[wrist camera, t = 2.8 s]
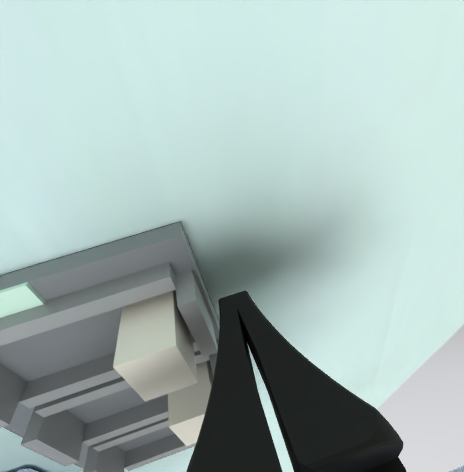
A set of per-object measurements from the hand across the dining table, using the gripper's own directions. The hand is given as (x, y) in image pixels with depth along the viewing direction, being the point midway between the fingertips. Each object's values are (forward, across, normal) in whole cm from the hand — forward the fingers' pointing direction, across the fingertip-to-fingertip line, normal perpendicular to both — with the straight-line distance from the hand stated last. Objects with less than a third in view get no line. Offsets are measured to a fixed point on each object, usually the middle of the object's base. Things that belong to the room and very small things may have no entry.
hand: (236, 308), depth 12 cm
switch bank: (+3, +8, +6) cm, 11 cm away
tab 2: (+1, +4, +6) cm, 7 cm away
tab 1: (+1, +4, 0) cm, 4 cm away
